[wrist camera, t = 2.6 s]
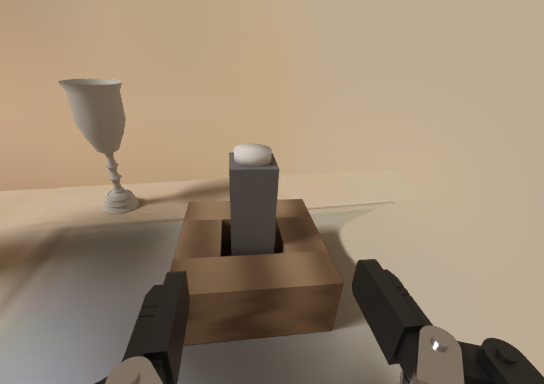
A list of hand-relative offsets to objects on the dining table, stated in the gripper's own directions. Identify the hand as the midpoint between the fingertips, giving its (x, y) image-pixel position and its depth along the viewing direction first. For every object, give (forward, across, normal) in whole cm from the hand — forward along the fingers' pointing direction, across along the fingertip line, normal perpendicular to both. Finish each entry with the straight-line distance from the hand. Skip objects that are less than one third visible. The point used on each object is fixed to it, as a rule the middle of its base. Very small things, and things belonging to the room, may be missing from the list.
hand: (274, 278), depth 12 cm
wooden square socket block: (+13, 0, +13) cm, 18 cm away
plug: (+13, 0, +13) cm, 18 cm away
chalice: (+30, +19, +13) cm, 38 cm away
